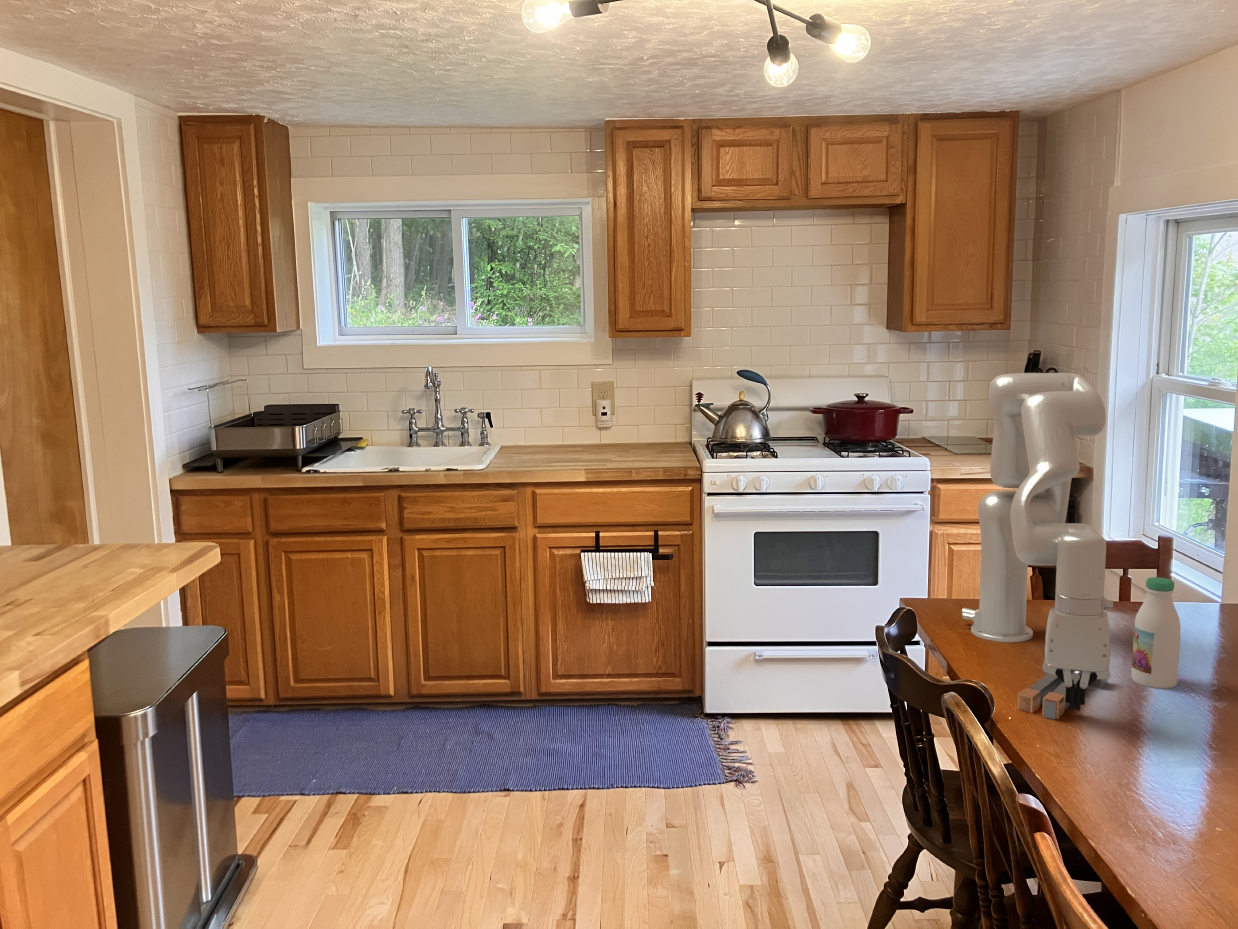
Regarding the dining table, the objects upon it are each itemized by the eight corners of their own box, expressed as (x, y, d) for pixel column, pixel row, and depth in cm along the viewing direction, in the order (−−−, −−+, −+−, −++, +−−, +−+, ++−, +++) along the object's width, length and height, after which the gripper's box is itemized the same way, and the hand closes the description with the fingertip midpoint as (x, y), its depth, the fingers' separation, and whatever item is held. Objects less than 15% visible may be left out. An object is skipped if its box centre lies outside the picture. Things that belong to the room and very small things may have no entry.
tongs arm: (1074, 683, 188) (1074, 667, 188) (1088, 686, 187) (1089, 670, 186) (1041, 716, 174) (1042, 699, 173) (1056, 720, 172) (1057, 702, 172)
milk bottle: (1172, 677, 191) (1179, 575, 188) (1180, 692, 184) (1188, 586, 181) (1128, 673, 194) (1134, 573, 191) (1134, 687, 187) (1140, 583, 184)
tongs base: (1006, 708, 179) (1006, 689, 178) (1052, 672, 195) (1053, 655, 195) (1064, 722, 172) (1065, 703, 171) (1107, 684, 189) (1108, 666, 188)
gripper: (1125, 602, 172) (1120, 705, 174) (1031, 595, 177) (1028, 695, 180) (1130, 614, 165) (1124, 721, 167) (1031, 606, 170) (1028, 709, 173)
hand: (1074, 707), depth 174 cm, fingers closed
